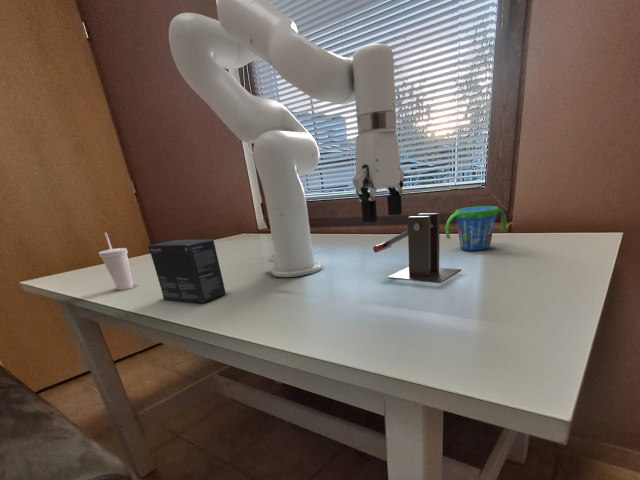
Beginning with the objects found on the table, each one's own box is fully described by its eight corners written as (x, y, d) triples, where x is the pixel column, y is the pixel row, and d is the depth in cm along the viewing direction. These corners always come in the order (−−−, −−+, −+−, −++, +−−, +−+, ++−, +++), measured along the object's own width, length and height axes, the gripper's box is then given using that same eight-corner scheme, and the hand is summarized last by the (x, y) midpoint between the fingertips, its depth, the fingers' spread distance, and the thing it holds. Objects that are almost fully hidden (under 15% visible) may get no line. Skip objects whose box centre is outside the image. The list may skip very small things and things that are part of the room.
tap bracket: (387, 282, 80) (384, 219, 74) (410, 270, 86) (409, 212, 81) (440, 288, 72) (441, 218, 67) (461, 275, 79) (463, 211, 74)
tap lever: (375, 255, 81) (371, 245, 81) (389, 250, 85) (384, 240, 85) (425, 229, 72) (420, 217, 72) (438, 224, 76) (433, 213, 76)
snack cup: (449, 254, 97) (450, 213, 93) (441, 247, 107) (441, 209, 103) (511, 249, 96) (515, 207, 92) (498, 242, 106) (500, 203, 101)
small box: (227, 294, 83) (214, 238, 78) (203, 304, 78) (188, 245, 73) (187, 290, 89) (173, 238, 84) (162, 299, 84) (146, 245, 79)
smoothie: (131, 283, 102) (113, 230, 96) (143, 285, 99) (125, 230, 93) (107, 290, 98) (86, 234, 92) (119, 292, 94) (98, 235, 88)
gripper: (384, 129, 81) (389, 213, 88) (334, 128, 69) (344, 225, 76) (415, 123, 77) (418, 211, 84) (367, 121, 65) (375, 224, 72)
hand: (383, 218), depth 80 cm, fingers open, 9 cm apart
